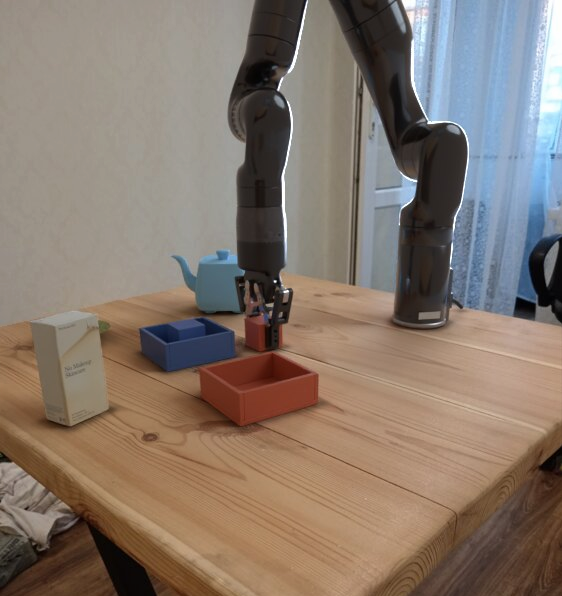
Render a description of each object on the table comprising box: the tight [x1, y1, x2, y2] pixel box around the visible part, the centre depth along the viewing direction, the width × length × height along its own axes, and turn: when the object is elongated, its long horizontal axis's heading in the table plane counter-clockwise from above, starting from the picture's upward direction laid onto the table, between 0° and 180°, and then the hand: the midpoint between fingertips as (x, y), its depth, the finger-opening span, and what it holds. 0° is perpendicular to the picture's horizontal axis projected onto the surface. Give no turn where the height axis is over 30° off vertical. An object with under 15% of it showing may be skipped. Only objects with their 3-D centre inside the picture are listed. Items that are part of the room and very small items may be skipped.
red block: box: [244, 314, 284, 352], centre depth 92 cm, size 4×4×4 cm
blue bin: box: [138, 316, 236, 373], centre depth 88 cm, size 11×10×4 cm
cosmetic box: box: [29, 309, 110, 427], centre depth 67 cm, size 6×4×12 cm
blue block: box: [166, 318, 206, 343], centre depth 88 cm, size 4×4×4 cm
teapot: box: [169, 248, 245, 314], centre depth 113 cm, size 12×18×12 cm
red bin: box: [198, 350, 320, 427], centre depth 72 cm, size 11×10×4 cm
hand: (263, 343), depth 93 cm, fingers closed on red block, 4 cm apart
